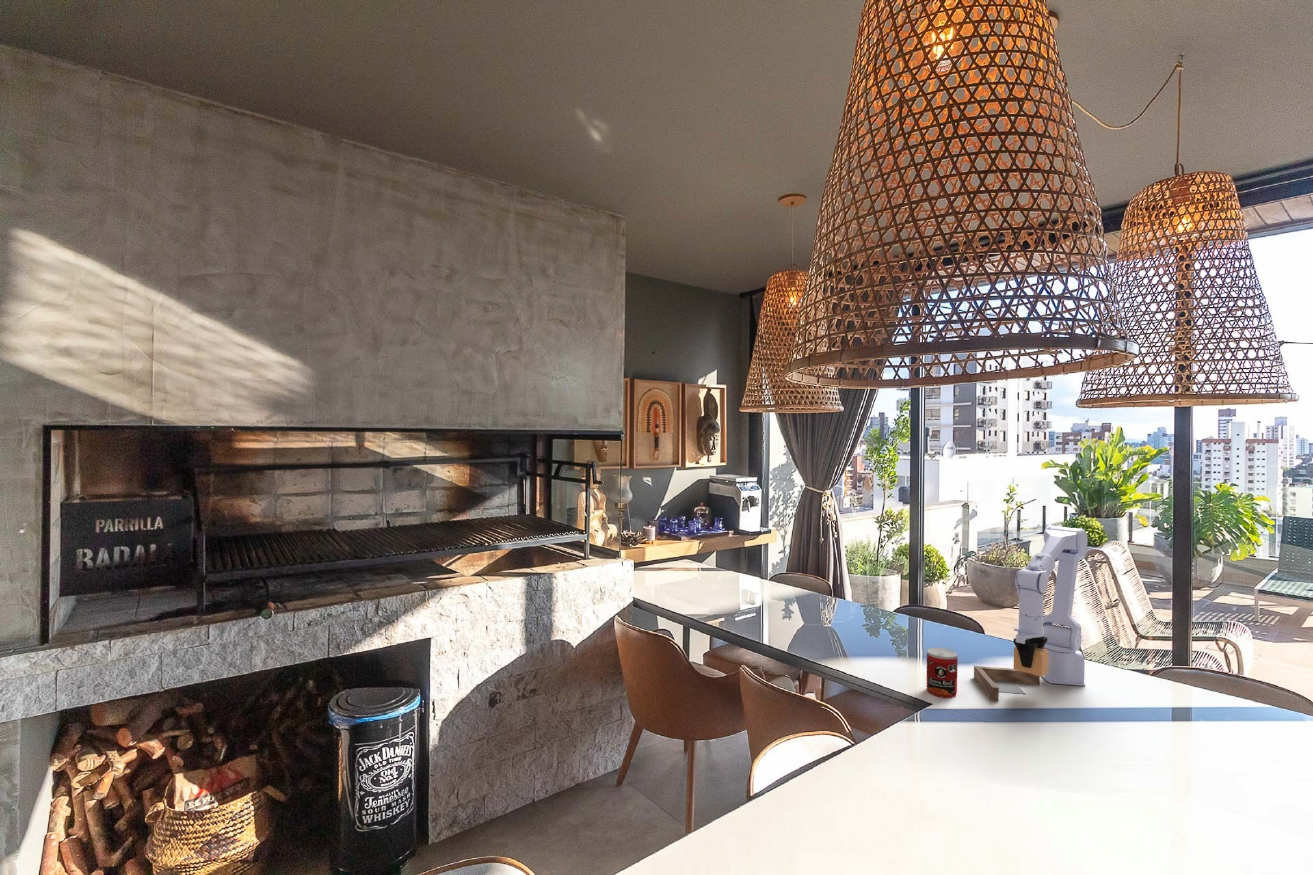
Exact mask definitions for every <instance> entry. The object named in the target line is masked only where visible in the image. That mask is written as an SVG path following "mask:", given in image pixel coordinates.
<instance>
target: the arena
mask: <svg viewBox="0 0 1313 875" xmlns="http://www.w3.org/2000/svg"><path fill="white" fill-rule="evenodd" d="M973 679H974V680H975V681H976V682H977V684H978V685H979V686H980V687H981V688H982V690H983V691H984V693H986V695H987V696H988V697H989V698H990V700H991V701H992V702H999V700H1000V699H999V697H1000V694H999V693H1000V692H999V688H998V686H997V685H996V684H995V683H994V682H993V681H999V682H1012V683H1016V684H1026V685H1036V686H1037V685H1038V686H1040V683H1041V676H1037V675H1034V674H1030V673H1026V672H1022V671H1019V670H1015V669H1014V668H1010V667H1009V668H1007V667H994V666H980V665H973Z"/></svg>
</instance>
